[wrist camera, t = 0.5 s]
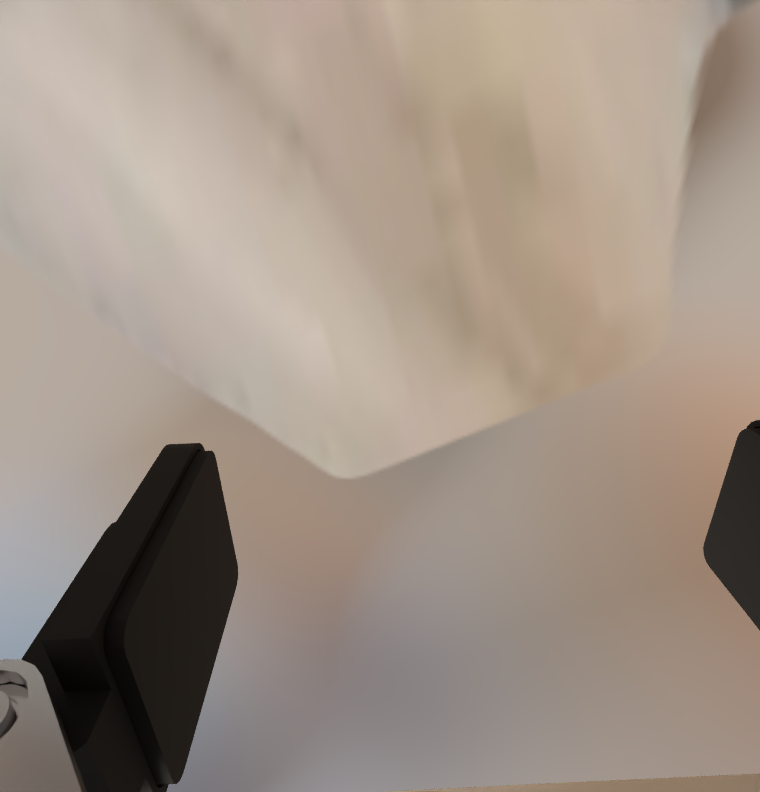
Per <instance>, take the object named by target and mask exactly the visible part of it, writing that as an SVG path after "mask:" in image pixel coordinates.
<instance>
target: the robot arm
mask: <svg viewBox="0 0 760 792" xmlns="http://www.w3.org/2000/svg"><path fill="white" fill-rule="evenodd" d="M703 549H704V556H705V559H706V562H707V563H708V565H709V567H710V568H711V569H712V570H713V571H714V573H715V574H716V576H717V577H718V578H719V579H720V580H721V582H722V583H723V584H724V586H725V587H726V588H727V589H728V591H729V592H730V593H731V594H732V596H733V597H734V598H735V600H736V601H737V602H738V603H739V604H740V606H741V607H742V608H743V610H744V611H745V612H746V613H747V615H748V616H749V617H750V618H751V620H752V621H753V622H754V624H755V625H756V626H757V627H758V629H759V630H760V420H756V421H754V422H751V423H750V424H749V425H748V426H747V428H746V429H744V430H742V431H741V432H740V433H739V435H738V438H737V441H736V444H735V447H734V450H733V453H732V456H731V460H730V463H729V466H728V469H727V472H726V476H725V479H724V482H723V485H722V488H721V491H720V495H719V498H718V501H717V504H716V508H715V510H714V514H713V517H712V520H711V523H710V527H709V530H708V533H707V536H706V539H705V542H704V547H703ZM237 579H238V565H237V560H236V555H235V550H234V546H233V541H232V536H231V531H230V526H229V521H228V516H227V511H226V506H225V502H224V496H223V491H222V486H221V481H220V477H219V472H218V467H217V462H216V458H215V454H214V453H213V451H205V450H204V447H203V446H202V444H200V443H191V444H169V445H166V446H165V447H164V448H163V450H162V451H161V453H160V454H159V456H158V457H157V459H156V461H155V462H154V464H153V465H152V467H151V468H150V470H149V471H148V473H147V475H146V476H145V478H144V479H143V481H142V483H141V484H140V486H139V487H138V489H137V490H136V492H135V493H134V495H133V496H132V498H131V500H130V501H129V503H128V504H127V506H126V507H125V509H124V510H123V512H122V514H121V515H120V517H119V518H118V520H117V521H116V522H115V523H112V524H111V525H110V526H109V527H108V528H107V530H106V531H105V532H104V534H103V535H102V537H101V539H100V540H99V542H98V543H97V545H96V546H95V548H94V549H93V551H92V552H91V554H90V555H89V557H88V559H87V560H86V562H85V563H84V565H83V566H82V568H81V569H80V571H79V572H78V574H77V575H76V577H75V578H74V580H73V581H72V583H71V584H70V586H69V588H68V589H67V591H66V592H65V594H64V595H63V597H62V598H61V600H60V601H59V603H58V604H57V606H56V608H55V609H54V610H53V612H52V613H51V615H50V617H49V618H48V620H47V621H46V623H45V624H44V626H43V627H42V629H41V630H40V632H39V633H38V635H37V637H36V638H35V639H34V641H33V643H32V644H31V646H30V647H29V649H28V650H27V652H26V653H25V655H24V656H23V658H22V659H21V660H15V659H3V660H0V792H166V791H167V788H168V784H177V783H178V782H179V781H180V779H181V777H182V774H183V772H184V769H185V765H186V762H187V758H188V755H189V751H190V747H191V744H192V740H193V737H194V733H195V730H196V726H197V723H198V719H199V716H200V712H201V709H202V705H203V702H204V698H205V695H206V691H207V687H208V684H209V681H210V677H211V674H212V670H213V667H214V663H215V660H216V656H217V653H218V649H219V646H220V642H221V639H222V635H223V632H224V628H225V625H226V621H227V617H228V614H229V610H230V607H231V604H232V600H233V597H234V593H235V589H236V586H237ZM391 792H760V774H741V775H719V776H700V777H699V776H697V777H674V778H653V779H632V780H610V781H590V782H589V781H588V782H568V783H547V784H526V785H506V786H489V787H469V788H468V787H467V788H448V789H430V790H410V791H391Z"/></svg>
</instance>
